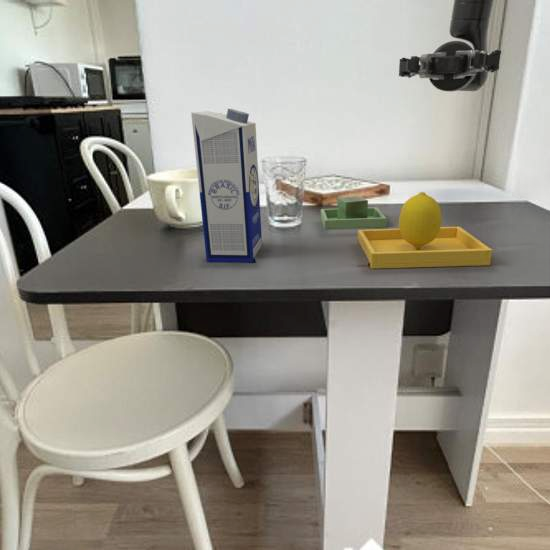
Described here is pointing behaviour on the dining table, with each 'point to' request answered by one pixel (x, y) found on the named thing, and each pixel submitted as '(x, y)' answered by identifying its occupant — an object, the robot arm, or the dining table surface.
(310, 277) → the dining table surface
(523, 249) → the dining table surface
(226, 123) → the milk carton
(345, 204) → the green block
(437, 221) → the lemon
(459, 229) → the yellow tray
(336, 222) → the green tray
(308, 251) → the dining table surface
